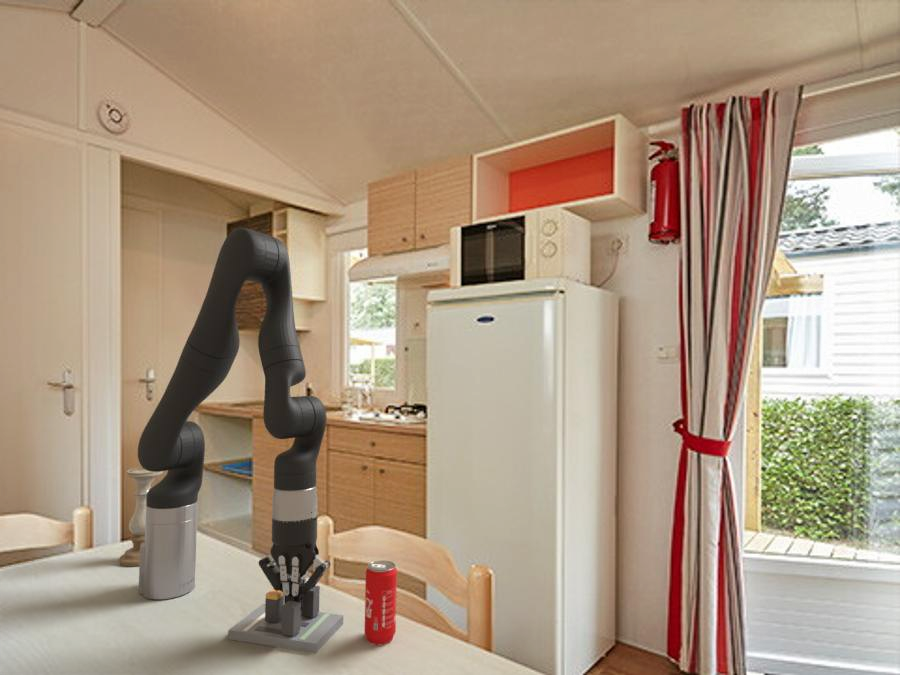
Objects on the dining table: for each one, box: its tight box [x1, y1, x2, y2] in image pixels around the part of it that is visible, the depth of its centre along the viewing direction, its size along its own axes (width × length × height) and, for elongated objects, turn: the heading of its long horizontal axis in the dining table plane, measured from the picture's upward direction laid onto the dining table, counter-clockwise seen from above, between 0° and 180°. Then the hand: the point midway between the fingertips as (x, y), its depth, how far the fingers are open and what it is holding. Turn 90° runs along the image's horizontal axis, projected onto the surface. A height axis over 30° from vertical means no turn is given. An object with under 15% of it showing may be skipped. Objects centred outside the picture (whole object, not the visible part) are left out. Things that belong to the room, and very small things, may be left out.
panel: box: [227, 603, 344, 654], centre depth 94 cm, size 16×10×2 cm, turn 76°
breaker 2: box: [281, 601, 301, 636], centre depth 90 cm, size 2×2×4 cm
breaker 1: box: [264, 588, 284, 623], centre depth 95 cm, size 2×2×4 cm
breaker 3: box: [302, 585, 321, 618], centre depth 97 cm, size 2×2×4 cm
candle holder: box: [118, 466, 164, 567], centre depth 126 cm, size 9×9×20 cm
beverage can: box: [364, 560, 398, 646], centre depth 92 cm, size 5×5×12 cm
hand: (293, 615), depth 94 cm, fingers closed
